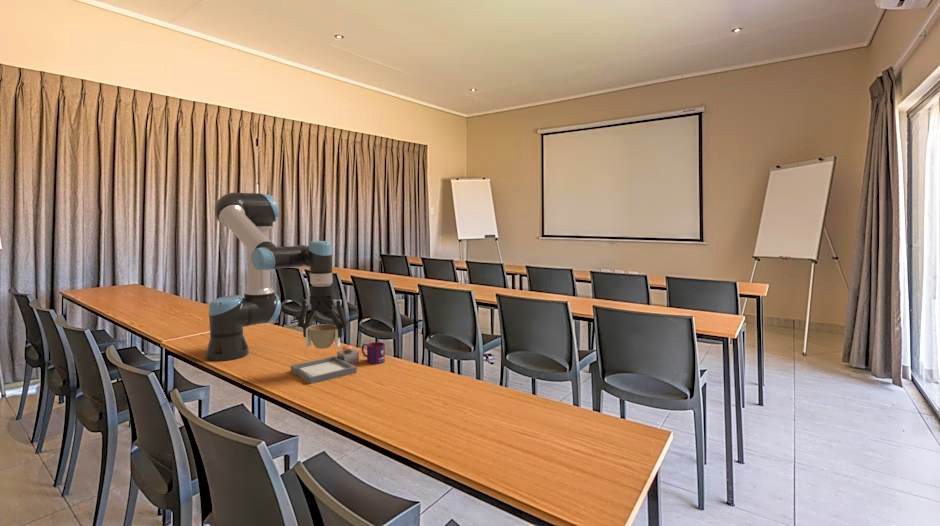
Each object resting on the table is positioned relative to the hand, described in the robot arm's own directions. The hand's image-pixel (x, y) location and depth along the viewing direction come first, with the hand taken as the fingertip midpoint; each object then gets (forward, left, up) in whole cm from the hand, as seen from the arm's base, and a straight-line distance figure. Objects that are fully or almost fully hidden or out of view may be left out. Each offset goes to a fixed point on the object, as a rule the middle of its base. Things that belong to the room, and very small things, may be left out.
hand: (323, 346), depth 166 cm
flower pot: (0, 0, 0) cm, 0 cm away
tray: (0, 0, -10) cm, 10 cm away
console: (-5, +12, -10) cm, 16 cm away
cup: (0, +20, -10) cm, 22 cm away
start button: (-5, +12, -7) cm, 15 cm away
